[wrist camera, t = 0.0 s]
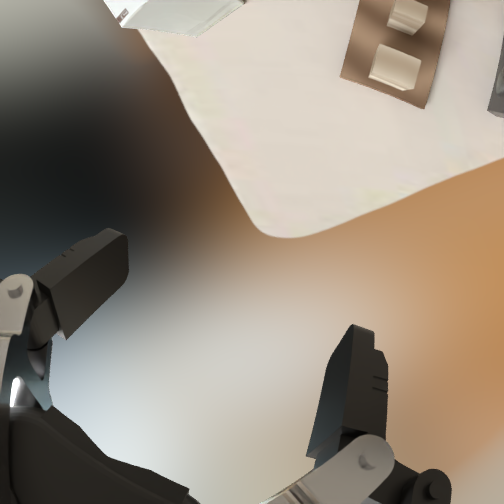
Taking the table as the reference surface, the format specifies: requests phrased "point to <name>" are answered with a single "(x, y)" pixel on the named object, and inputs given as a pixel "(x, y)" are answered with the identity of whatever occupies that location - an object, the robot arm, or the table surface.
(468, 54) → the table surface
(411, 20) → the wooden peg rack
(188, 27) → the skincare box
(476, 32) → the table surface
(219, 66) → the table surface
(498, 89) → the dark flat rectangular bar
